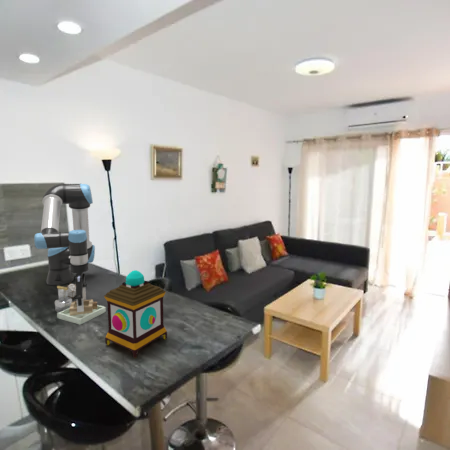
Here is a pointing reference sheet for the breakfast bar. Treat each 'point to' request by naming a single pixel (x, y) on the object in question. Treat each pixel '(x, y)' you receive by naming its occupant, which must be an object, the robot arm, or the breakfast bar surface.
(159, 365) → the breakfast bar surface
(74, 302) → the tan wooden square frame
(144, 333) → the decorative lantern
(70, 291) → the game die
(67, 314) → the tray
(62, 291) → the grey piece
